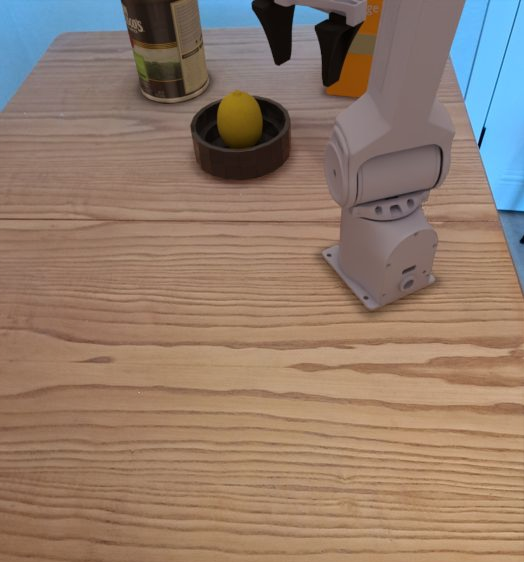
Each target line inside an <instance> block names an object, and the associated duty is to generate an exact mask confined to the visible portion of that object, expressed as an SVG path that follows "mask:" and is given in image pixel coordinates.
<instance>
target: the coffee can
mask: <svg viewBox="0 0 524 562" xmlns="http://www.w3.org/2000/svg"><path fill="white" fill-rule="evenodd" d="M120 4H121V7H122V12H123V13H122V14H123V17H124V21H125V25H126V29H127V34H128V38H129V42H130V46H131V50H132V55H133V59H134V64H135V68H136V71H137V77H138V80H139V86H140V91H141V94H142V95H143V96H144V97H145V98H147V99H148V100H150V101H153V102H157V103H162V104H176V103H182V102H186V101H189V100H192V99H195V98H196V97H198V96H200V95H201V94H203V93H204V92H205V91H206V90H207V88H208V87H209V84H210V78H209V74H208V67H207V59H206V53H205V52H206V51H205V45H204V36H203V29H202V22H201V14H200V7H199V0H120Z"/></svg>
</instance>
